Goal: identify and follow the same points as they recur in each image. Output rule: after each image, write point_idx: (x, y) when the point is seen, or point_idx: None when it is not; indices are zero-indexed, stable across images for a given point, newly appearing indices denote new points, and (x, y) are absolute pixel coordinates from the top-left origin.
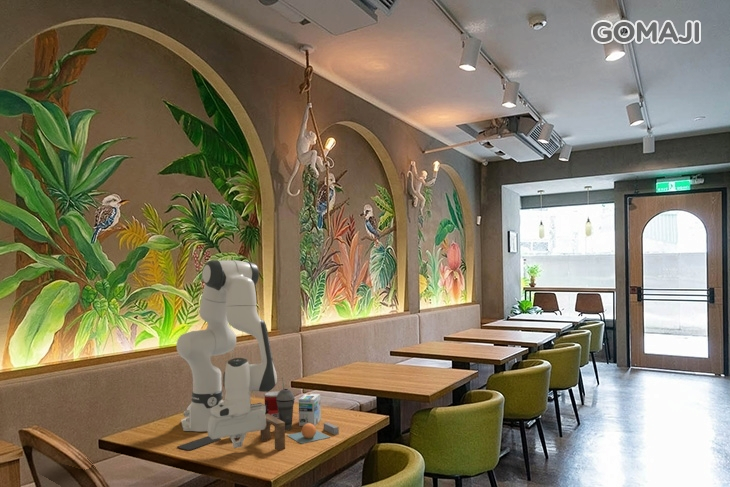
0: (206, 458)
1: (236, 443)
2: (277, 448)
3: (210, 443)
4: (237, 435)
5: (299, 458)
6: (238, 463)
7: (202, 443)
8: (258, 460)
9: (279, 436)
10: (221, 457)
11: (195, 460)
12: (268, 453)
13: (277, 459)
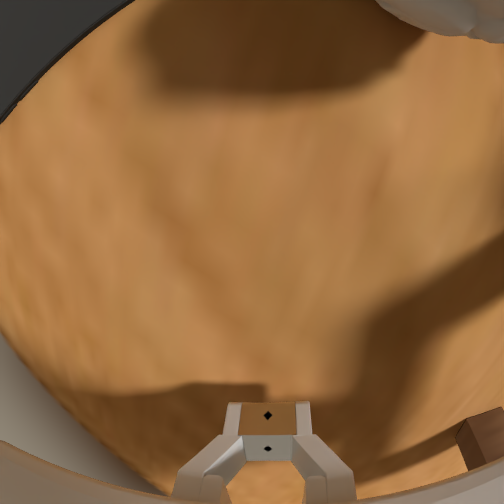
0: (58, 363)
1: (247, 455)
2: (459, 445)
3: (101, 22)
4: (419, 26)
5: None
6: None
7: (43, 22)
8: None
9: None
10: (140, 404)
11: (15, 349)
12: (401, 456)
13: None
